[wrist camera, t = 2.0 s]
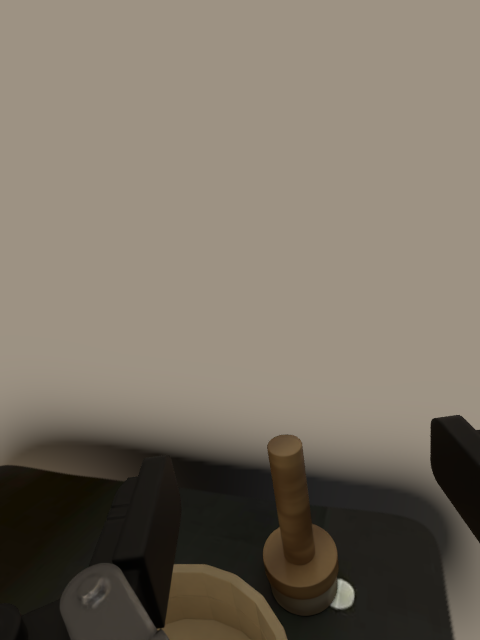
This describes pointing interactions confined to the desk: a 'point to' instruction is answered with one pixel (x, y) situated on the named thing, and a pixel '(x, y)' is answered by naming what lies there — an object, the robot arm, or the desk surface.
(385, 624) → the desk surface
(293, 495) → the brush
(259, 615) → the bowl
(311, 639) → the desk surface
